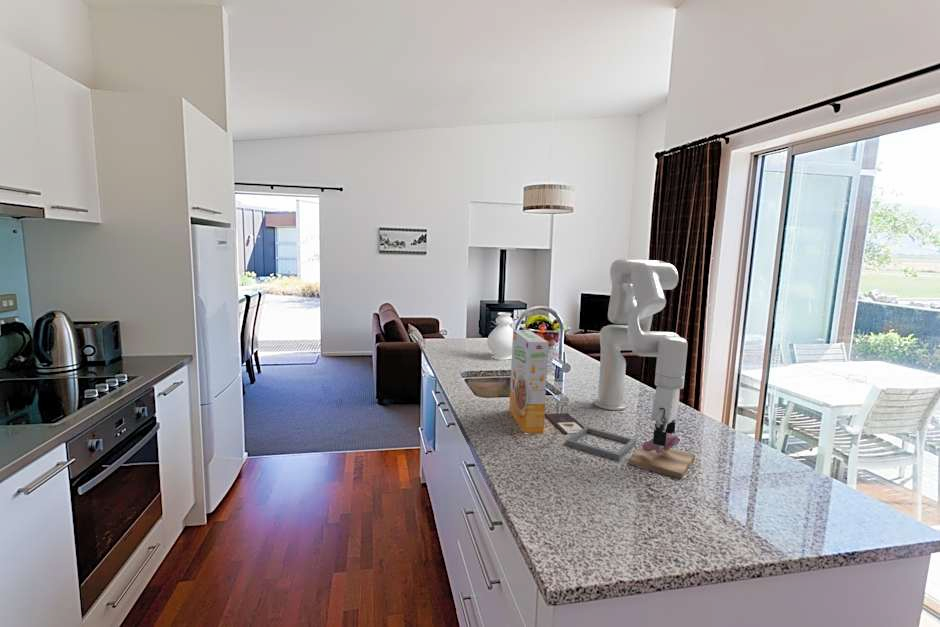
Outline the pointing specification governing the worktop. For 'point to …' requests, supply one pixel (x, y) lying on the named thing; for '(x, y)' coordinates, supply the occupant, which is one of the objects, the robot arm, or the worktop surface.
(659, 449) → the video game controller
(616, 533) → the worktop surface
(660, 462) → the walnut board
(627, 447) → the frame
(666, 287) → the robot arm
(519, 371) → the cereal box
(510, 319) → the decorative vase
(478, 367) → the worktop surface
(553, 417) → the chocolate bar
